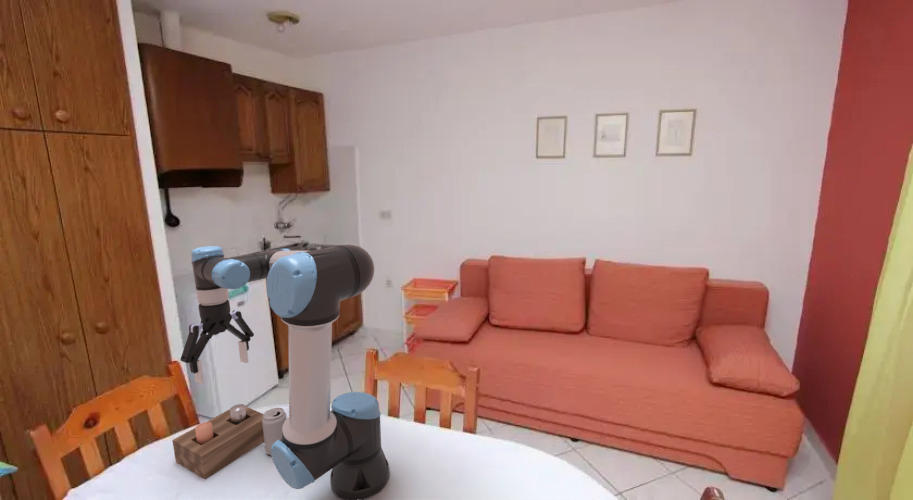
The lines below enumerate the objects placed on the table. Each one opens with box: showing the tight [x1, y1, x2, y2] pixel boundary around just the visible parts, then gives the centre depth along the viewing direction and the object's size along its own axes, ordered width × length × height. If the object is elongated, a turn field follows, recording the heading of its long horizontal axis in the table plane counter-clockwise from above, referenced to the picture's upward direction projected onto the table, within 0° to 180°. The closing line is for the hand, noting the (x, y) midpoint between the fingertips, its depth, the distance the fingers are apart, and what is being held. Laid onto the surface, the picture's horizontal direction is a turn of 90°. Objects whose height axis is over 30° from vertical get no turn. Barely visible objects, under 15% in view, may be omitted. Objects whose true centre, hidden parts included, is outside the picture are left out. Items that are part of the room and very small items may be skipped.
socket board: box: [172, 405, 265, 480], centre depth 119 cm, size 14×20×7 cm
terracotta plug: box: [194, 421, 214, 445], centre depth 114 cm, size 4×4×6 cm
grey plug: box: [229, 403, 246, 425], centre depth 122 cm, size 4×4×6 cm
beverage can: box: [262, 407, 288, 456], centre depth 118 cm, size 6×6×12 cm
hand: (223, 371), depth 118 cm, fingers open, 13 cm apart
